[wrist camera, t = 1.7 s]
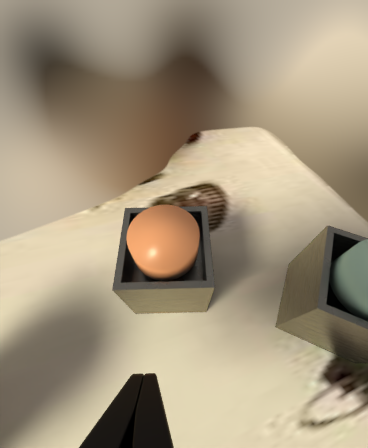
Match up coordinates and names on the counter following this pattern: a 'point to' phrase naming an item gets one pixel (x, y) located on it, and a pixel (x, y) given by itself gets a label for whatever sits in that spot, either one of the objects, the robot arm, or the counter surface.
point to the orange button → (164, 242)
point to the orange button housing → (172, 289)
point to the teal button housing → (322, 299)
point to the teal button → (352, 279)
